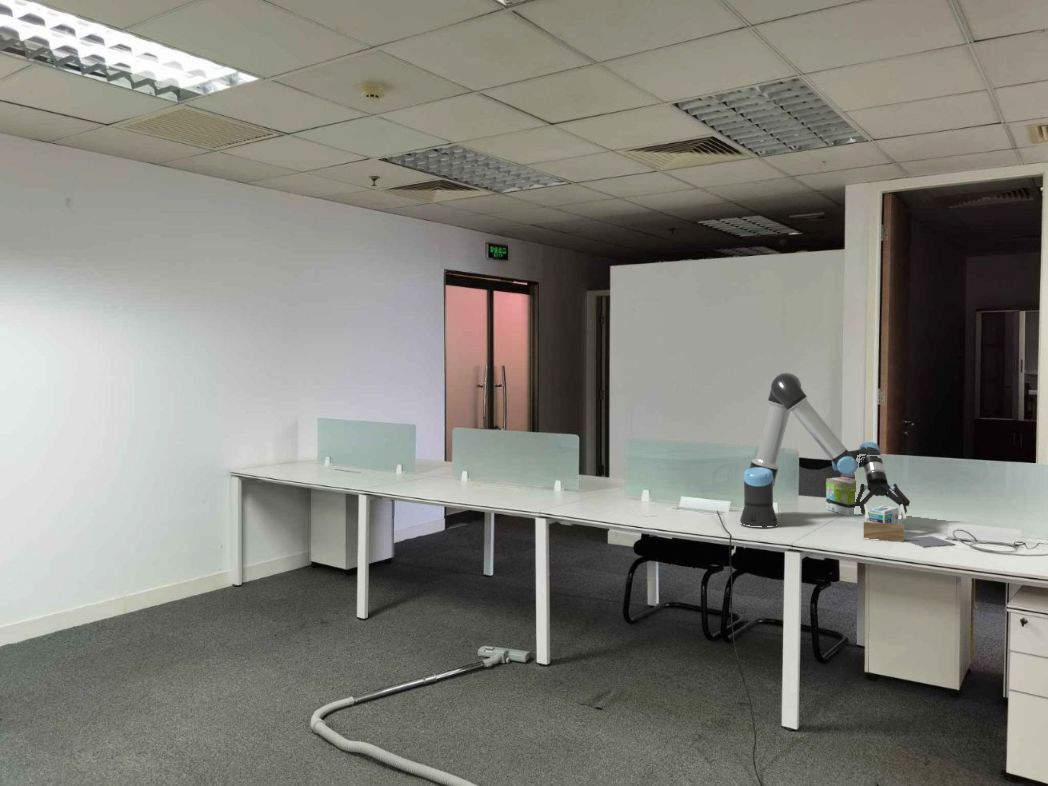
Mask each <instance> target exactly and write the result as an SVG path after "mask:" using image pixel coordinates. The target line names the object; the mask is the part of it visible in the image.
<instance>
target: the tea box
mask: <svg viewBox="0 0 1048 786" xmlns="http://www.w3.org/2000/svg"><path fill="white" fill-rule="evenodd" d="M825 485H826V486H825V487H826V489H825V495H826V496H825V497H826V501H825V503H826V504H825V506H826V510H827V511H831V512H835V513H837V512H838V514H841V515H844V516H846V515H847V517H850V516H851V515H853V514H854V508H855V492H856V480H855V479H851V478H846V477H841V476H840V477H832V478H831V477H830V478H828V477H827V478H826V479H825ZM853 516H854V515H853ZM851 517H852V516H851Z"/></svg>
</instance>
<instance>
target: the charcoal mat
mask: <svg viewBox="0 0 1048 786" xmlns="http://www.w3.org/2000/svg"><path fill="white" fill-rule="evenodd" d="M904 540H905V541H904V542H907V541H908V542H907V543H910V542H911V543H910V544H913V545H915V544H917V545H916V546H918V545H919V546H918V547H921V546H922V548H932V547H931V546H938V547H947V546H946V545H951V546H956V543H953V542H950V541H948V540H944V539H941V538H939V537H936V536H932V535H931V536H930V535H929V536H915V537H904Z"/></svg>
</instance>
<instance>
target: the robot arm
mask: <svg viewBox="0 0 1048 786" xmlns="http://www.w3.org/2000/svg"><path fill="white" fill-rule="evenodd" d="M801 383H802V382H801V380H800V379H799V378H798V377H797V376H796V375H795V374H793V373H789V372H785V373H784V372H783V373H780V374H778V375H776V376H775V377H774V379H773V380H772V383H771V385H770V392H769V395H768V400H767V401H768V403H769V408H768V413H767V417H766V419H765V424H764V428H763V432H762V435H761V438H760V443H759V445H758V446H759V447H758V449H757V453H756V457H755V458H754V459H752V460H750V461H751V462H750V466H749V468H747V469H746V470H745V471H744V472H743V485H744V486H743V491H744V492H743V499H744V500H743V501H744V504H743V505H744V506H743V509H742V512H741V515H740V519H739V520H740V521H739V522H741V523H742V524H745V525H750V526H762V527H767V526H776V525H777V524H778V518H777V515H776V511H775V509H774V486H775V484H776V479H777V474H778V471H779V466H778V465H777V460H778V458H779V454H780V450H781V446H782V443H783V440H784V436H785V432H786V428H787V425H788V421H789V418H790V414H791V413H792V414H793V415H794V416H795V418H797V419H798V421H799V423H800V424H801V425H802V426H803V427H804V429H805V430H806V431H807V432H808V433H809V435H810V436H811V438H813V439H814V440H815V442H816V444H818V445H819V447H820V448H821V449H822V451H823V452H824V453H825V454H826V455H827V456H828V458H829V459H830V461H831V464H832V469H833V471H835V472H836V471H838V472H839V473H840V474H844V475H851V474H854V473H856V471H857V469H860V468H863V469H864V474H865V478H866V479H865V480H866V485H864V484H861V486H860V492H859V494H858V497H857V499H856V502H855V506H860V508H861V513H862V515H864V518H865V522H869V509H868V507H867V503H868V501H870V499H871V498H872V497H873V496H875V497H879V496H881V497H884V496H885V497H886V498H888V499H890V500H891V501H893V502H894V503H895V504H897V506H899V513H900V516H901V519H902V520H901V521H902V522H903V523H905V522H906V520H907V515H906V514H907V513H908V509H907V507H909V506H910V503H911V501H910V500H909V498H907V496H906V495H905V494H904V493H903V491H901V490H900V488H899V486H898V485H897V484H896V483H893V484H892V485H891V484H890V485H889V483H888V479H887V478H888V477H887V474H886V470H885V467H884V462H883V458H882V459H881V458H878V457H877V456H867V455H881V456H882V453H881V450H880V448H879V447H880V446H879V445H878V444H877V443H875V442H873V441H866V442H864V443H862V444H861V445H859V449H855V450H854V449H853V450H848V449H847V448H846V446H845V445H844V444H843V443H842V442H841V440H840V438H838V437H837V435H836V434H835V433H834V432H833V430H832V429H831V428H830V426H829V425H828V424H827V423H826V422H825V420H824V419H823V418H822V417H821V416H820V414H819V413H818V412H817V410H815V408H814V407H813V406H812V404H811V403H810V402H809V401H808V395H806V393H805V392H804V390H803V388H802V384H801ZM859 454H866V455H865V456H861V457H860V459H861V458H862V457H865V458H862V460H860V463H859V468H858V462H857V461H856V458H857V455H859ZM858 458H859V457H858ZM863 459H864V460H863ZM861 461H862V462H861ZM865 490H866V491H868V493H866V497H865V498H864V499H863V500H862V501H861V502H860V499H861V497H862V494H863V492H864V491H865ZM777 526H778V525H777ZM777 526H776V527H777Z"/></svg>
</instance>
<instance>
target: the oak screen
mask: <svg viewBox="0 0 1048 786" xmlns="http://www.w3.org/2000/svg"><path fill="white" fill-rule="evenodd" d="M864 538H869V539H879V540H878V541H881V540H888V541H887V542H895V541H903V542H902V543H905V541H904V538H905V524H902V523H901V524H900V523H898V524H888V523H872V522H869V521H868V522H866V521H863V539H864Z"/></svg>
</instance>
